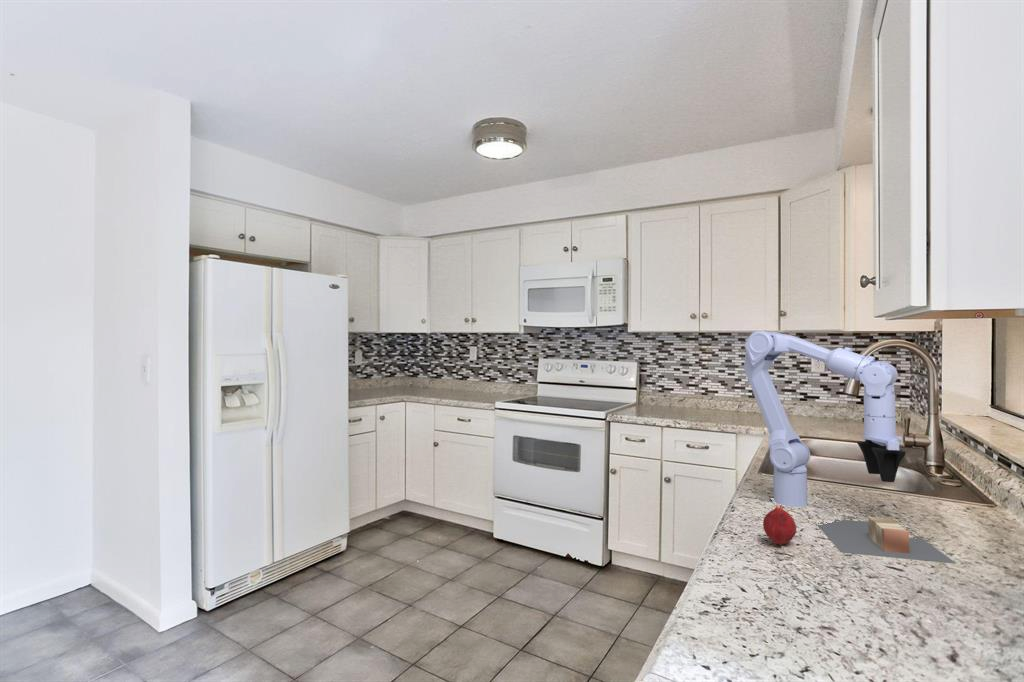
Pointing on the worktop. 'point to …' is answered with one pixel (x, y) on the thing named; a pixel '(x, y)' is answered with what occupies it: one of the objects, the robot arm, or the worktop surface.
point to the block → (888, 535)
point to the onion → (779, 525)
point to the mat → (857, 541)
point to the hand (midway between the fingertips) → (880, 477)
